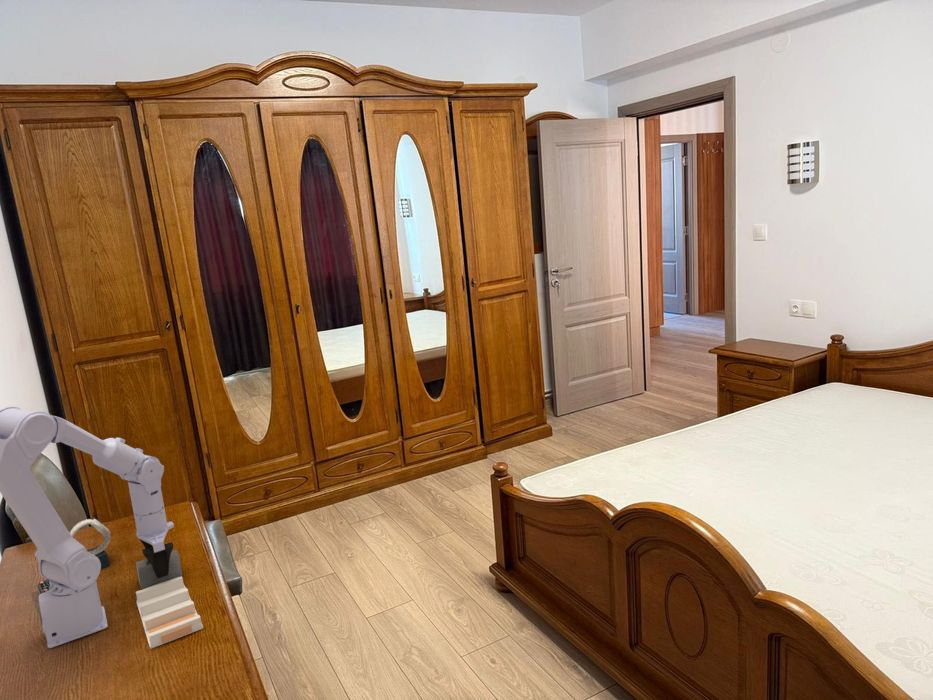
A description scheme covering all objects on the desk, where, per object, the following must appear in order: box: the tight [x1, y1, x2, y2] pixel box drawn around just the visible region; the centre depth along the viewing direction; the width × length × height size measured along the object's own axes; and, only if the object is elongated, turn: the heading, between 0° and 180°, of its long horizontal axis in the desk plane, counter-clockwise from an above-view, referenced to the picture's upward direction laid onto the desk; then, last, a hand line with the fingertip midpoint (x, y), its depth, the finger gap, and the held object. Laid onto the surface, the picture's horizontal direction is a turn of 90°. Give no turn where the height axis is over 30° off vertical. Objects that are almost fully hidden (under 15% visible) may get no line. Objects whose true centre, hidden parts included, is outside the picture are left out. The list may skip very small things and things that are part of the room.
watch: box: [69, 518, 112, 571], centre depth 138 cm, size 6×8×11 cm
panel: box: [135, 549, 183, 590], centre depth 132 cm, size 8×3×5 cm, turn 125°
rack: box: [135, 576, 204, 650], centre depth 119 cm, size 9×18×2 cm, turn 35°
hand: (159, 568), depth 132 cm, fingers open, 7 cm apart
